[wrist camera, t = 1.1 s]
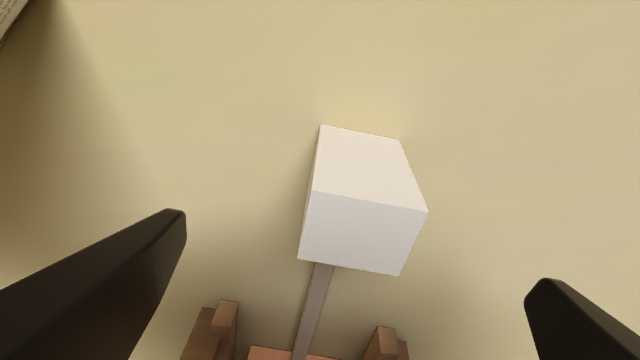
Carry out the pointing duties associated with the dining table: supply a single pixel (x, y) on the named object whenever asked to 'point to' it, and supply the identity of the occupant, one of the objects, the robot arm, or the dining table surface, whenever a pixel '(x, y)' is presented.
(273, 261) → the dining table surface
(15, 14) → the candy bar box
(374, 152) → the tethered block
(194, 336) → the walnut shelf
